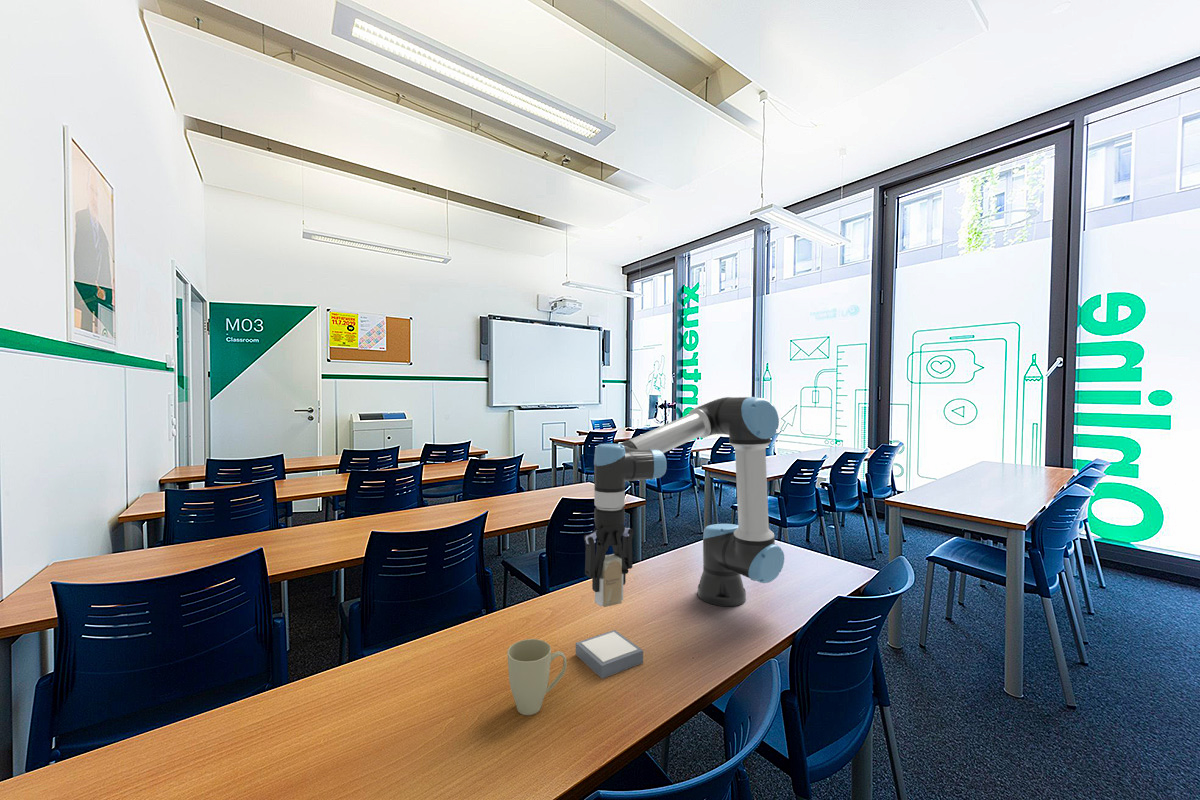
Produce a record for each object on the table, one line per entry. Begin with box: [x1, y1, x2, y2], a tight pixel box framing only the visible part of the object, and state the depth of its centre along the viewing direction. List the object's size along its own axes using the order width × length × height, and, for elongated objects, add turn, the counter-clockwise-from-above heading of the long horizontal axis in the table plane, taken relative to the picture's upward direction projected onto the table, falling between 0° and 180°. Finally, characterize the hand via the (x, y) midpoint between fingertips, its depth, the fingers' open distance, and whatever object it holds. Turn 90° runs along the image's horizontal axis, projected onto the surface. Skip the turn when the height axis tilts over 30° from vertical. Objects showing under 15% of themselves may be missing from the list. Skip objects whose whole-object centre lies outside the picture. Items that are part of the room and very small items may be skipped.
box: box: [601, 553, 623, 608], centre depth 115 cm, size 5×4×11 cm
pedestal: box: [575, 629, 644, 680], centre depth 115 cm, size 12×12×3 cm
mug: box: [506, 638, 568, 716], centre depth 98 cm, size 11×10×12 cm
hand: (609, 600), depth 115 cm, fingers closed on box, 5 cm apart
